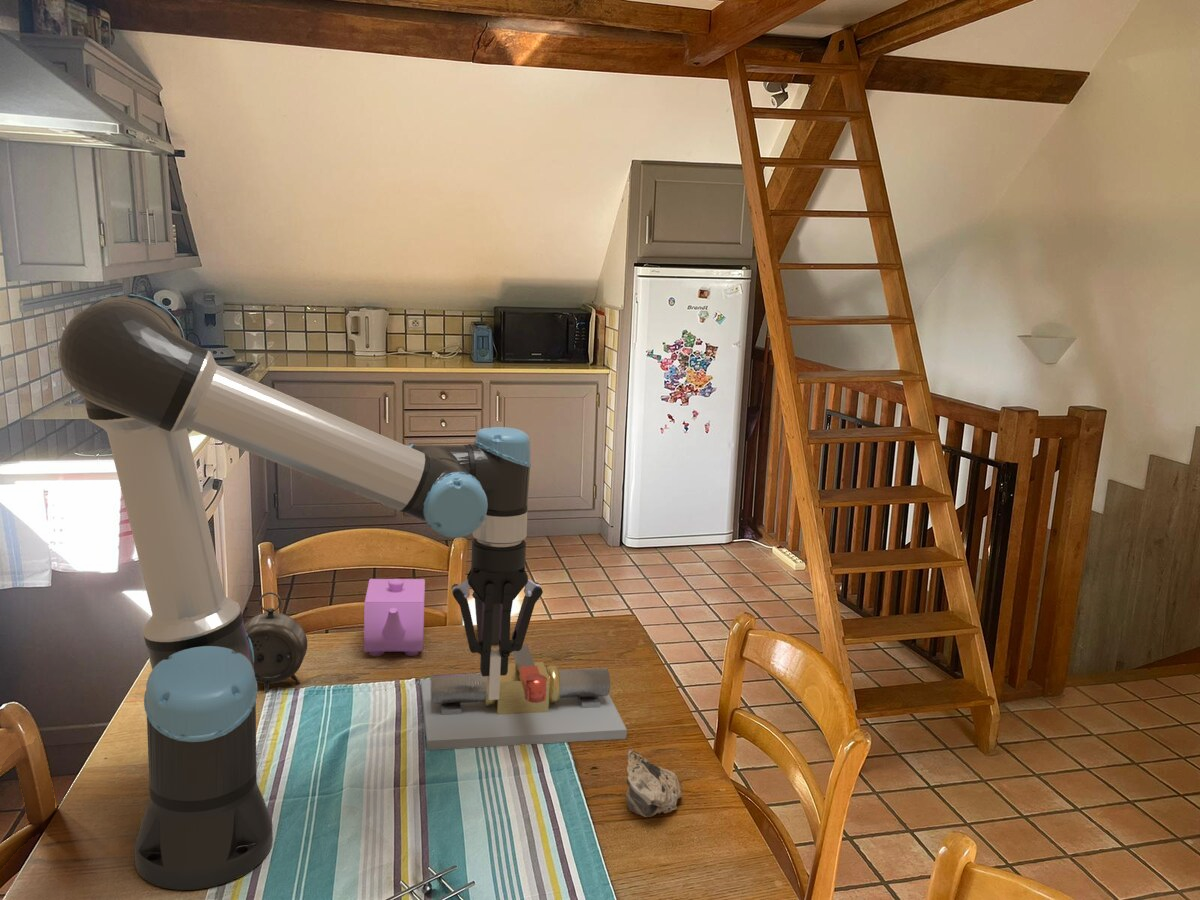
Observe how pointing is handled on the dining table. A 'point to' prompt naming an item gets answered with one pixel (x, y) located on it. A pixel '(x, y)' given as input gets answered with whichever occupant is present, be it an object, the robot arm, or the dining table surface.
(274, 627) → the alarm clock
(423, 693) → the mount board
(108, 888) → the dining table surface
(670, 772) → the rock
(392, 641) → the pink toy block
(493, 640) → the coffee cup
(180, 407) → the robot arm
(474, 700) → the valve body
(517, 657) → the lever
